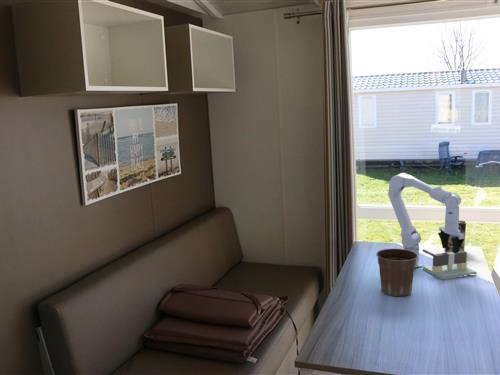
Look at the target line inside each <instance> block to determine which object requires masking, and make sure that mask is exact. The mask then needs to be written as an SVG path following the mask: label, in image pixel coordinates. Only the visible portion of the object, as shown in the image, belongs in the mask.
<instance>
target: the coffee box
mask: <svg viewBox="0 0 500 375" xmlns="http://www.w3.org/2000/svg"><path fill="white" fill-rule="evenodd" d="M466 227H467V223H466V221H465V220H459V225H458V230H460V233H462V234H464V241H463V243H462V244H461V246H460V250H462V251H465V244H466ZM451 238H455V236H452V235H450V237H449V241H448V247H447V248H443V249H444V253H448V252H453V249H452V248H451V246H453V243H452V240H451Z"/></svg>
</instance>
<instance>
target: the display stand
mask: <svg viewBox="0 0 500 375" xmlns="http://www.w3.org/2000/svg"><path fill="white" fill-rule="evenodd" d="M467 265H468V263H467V262H466V263H460V264H452V265H445V266H437V267H436V266H434V265H433V264H431V265H424V266H423V265H422V270H423V271H425V272H427V273H429V274H430V275H433V276H434V277H436V278H438V279H440V280H441V279H442V280H441V281H443V279H444V280H449V278H451V279H456V278H455V277H458V278H461V277H460V276H464V275H470V274H476V275H477V273H478V271H476V270H474V269H472V268H471V267H470V268H469V267H468V266H467Z"/></svg>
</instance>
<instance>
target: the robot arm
mask: <svg viewBox="0 0 500 375" xmlns="http://www.w3.org/2000/svg"><path fill="white" fill-rule="evenodd" d="M411 187H413V188H415V189H417V190H420V191H422V192H424V193H427V194H428V195H429V197H430V198H431V199H433V200H435V201H437V202H439V203H441V204H443V205H444V206H445V215H444V226H439V227H438V229H439V230H438V234H437V235H438V237H439V238H440V242H441V246H442V249H445V248H447V247H448V241H449V237H450V235H452V236H455V238H451V240H452V243H453V253H458V252H459V249H460V246H461V244H462V243H463V241H464V234H462V233H460V230H458V225H459V221H460V204H461V203H462V198H461V196H460V195H459V194H457V193H454V192H452V191H448V190H446V189H444V188H443V187H442V186H437V185H436V186H431V185H429V184H428V183H426V182H423V181H422V180H420V179H418V178H416V177H415V176H412V175H411V174H408V173H407V172H400V173H399V174H396V175H393V176H392V177H391V178H390V180H388V192H387V195H388V198H389V200H390V203H391V205H392V208H393V211H394V214H395V216H396V219H397V221H398V224H399V226H400V228H401V231H400V237H401V244H402V247H401V248H400V247H399V249H404V250H409V251H412V252H415V253H416V254H417V255H418V257H417V259H416V264H415V266H414V269H415V268H423V265H422V264H421V263H419V260H420V245H419V243H421V241H422V236H421V234H420V233H419V232H418V231H417V229H416V227H415V226H414V225H413V224H412V221H411V219H410V216H409V213H408V211H407V208H406V205H405V203H404V200H403V197H402V192H403V191H404V189H405V188H411Z"/></svg>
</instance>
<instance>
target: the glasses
mask: <svg viewBox="0 0 500 375" xmlns="http://www.w3.org/2000/svg"><path fill="white" fill-rule="evenodd" d="M451 248H452V249H453V246H451ZM422 252H424V253H425V254H428V255H430V256H432V265H434V266H436V267H437V266H445V265H452V264H460V263H467V255H468V254H467V253H468V252H467V251H465V250H464V251H462V250H460V249H459V252H458V253H453V252H448V253H445V252H442V253H432V252H431V251H429V250H426V249H424V248H423V249H422Z"/></svg>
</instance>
